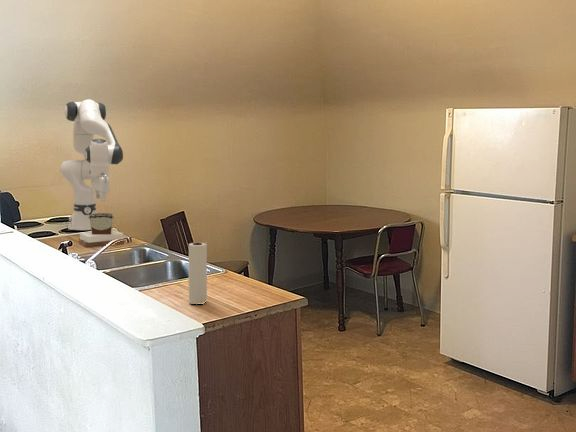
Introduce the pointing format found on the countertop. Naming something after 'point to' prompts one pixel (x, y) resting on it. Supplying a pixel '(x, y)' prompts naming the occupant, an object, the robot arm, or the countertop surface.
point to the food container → (101, 223)
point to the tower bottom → (97, 243)
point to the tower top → (100, 236)
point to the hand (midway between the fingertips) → (100, 199)
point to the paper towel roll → (197, 273)
